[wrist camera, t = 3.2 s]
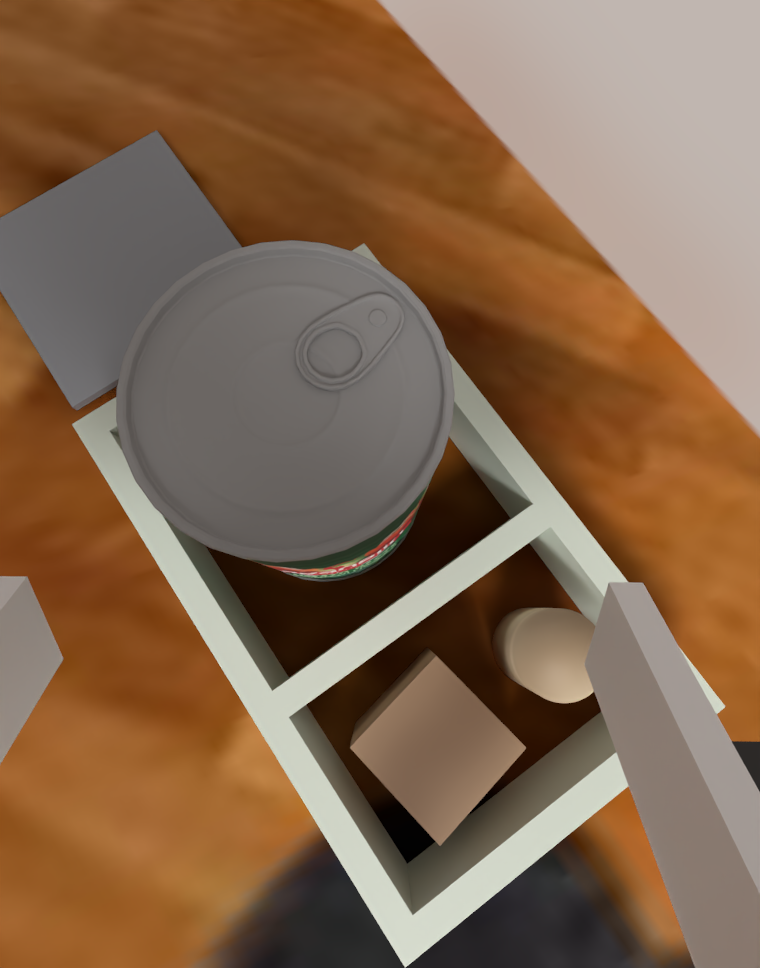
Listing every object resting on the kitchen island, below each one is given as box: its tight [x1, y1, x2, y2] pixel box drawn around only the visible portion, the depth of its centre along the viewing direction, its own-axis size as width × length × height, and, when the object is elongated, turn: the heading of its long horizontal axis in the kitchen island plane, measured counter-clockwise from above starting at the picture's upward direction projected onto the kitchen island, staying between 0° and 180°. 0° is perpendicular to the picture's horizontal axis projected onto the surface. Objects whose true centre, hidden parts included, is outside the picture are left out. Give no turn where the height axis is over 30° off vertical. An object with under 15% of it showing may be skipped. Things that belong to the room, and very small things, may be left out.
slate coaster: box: [0, 130, 242, 410], centre depth 26 cm, size 10×10×1 cm
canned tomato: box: [116, 240, 455, 582], centre depth 18 cm, size 8×8×11 cm
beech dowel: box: [492, 608, 596, 703], centre depth 20 cm, size 3×3×4 cm
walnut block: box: [350, 647, 526, 846], centre depth 20 cm, size 4×4×4 cm
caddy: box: [72, 243, 725, 967], centre depth 21 cm, size 21×13×4 cm, turn 35°
